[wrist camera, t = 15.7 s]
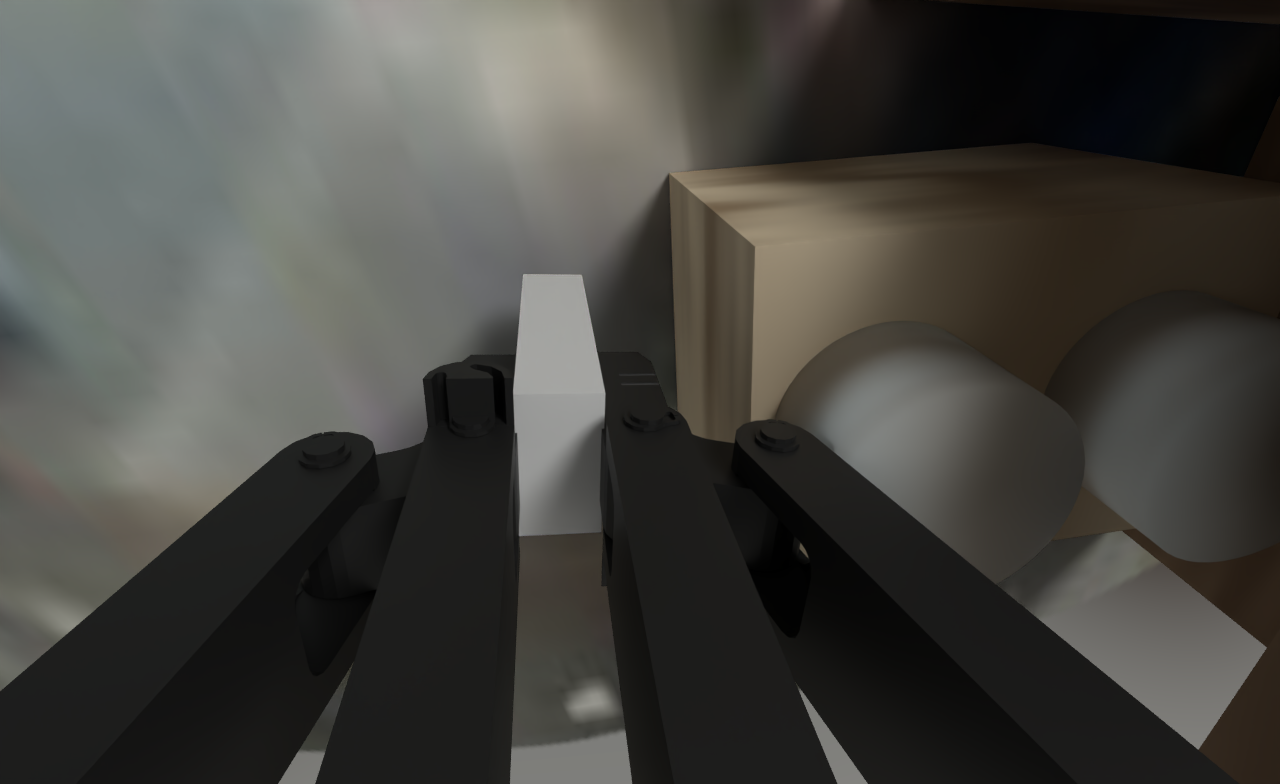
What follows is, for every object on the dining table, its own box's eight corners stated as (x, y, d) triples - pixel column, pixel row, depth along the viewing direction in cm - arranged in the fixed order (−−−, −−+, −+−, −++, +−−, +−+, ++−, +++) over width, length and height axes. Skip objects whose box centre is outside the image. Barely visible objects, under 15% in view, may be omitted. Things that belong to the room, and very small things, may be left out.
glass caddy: (677, 410, 20) (788, 691, 11) (669, 173, 17) (816, 299, 8) (983, 374, 21) (1312, 605, 12) (1031, 142, 18) (1531, 224, 9)
